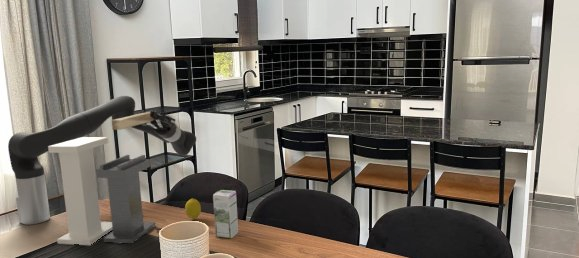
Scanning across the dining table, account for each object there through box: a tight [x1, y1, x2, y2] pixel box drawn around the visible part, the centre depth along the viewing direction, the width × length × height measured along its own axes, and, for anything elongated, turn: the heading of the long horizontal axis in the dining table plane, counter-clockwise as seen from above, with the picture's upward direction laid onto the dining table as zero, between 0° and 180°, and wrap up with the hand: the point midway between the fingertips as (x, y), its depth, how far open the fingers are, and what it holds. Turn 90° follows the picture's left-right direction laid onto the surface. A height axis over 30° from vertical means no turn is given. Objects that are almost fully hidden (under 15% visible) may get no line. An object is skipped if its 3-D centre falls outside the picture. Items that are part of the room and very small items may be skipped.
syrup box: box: [212, 189, 239, 239], centre depth 141 cm, size 6×6×14 cm
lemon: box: [184, 198, 202, 221], centre depth 156 cm, size 6×6×8 cm
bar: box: [111, 110, 159, 131], centre depth 149 cm, size 3×24×3 cm, turn 169°
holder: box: [95, 154, 156, 243], centre depth 143 cm, size 10×15×26 cm, turn 169°
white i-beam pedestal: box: [48, 136, 113, 246], centre depth 144 cm, size 12×16×32 cm
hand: (146, 113), depth 156 cm, fingers closed on bar, 3 cm apart
